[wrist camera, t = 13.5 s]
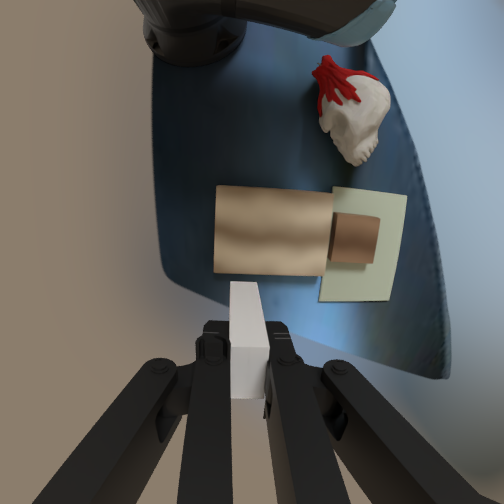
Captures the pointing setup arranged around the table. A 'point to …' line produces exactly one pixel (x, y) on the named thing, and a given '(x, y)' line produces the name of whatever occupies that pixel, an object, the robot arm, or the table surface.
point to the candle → (350, 108)
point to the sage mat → (386, 254)
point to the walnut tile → (353, 238)
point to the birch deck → (271, 231)
